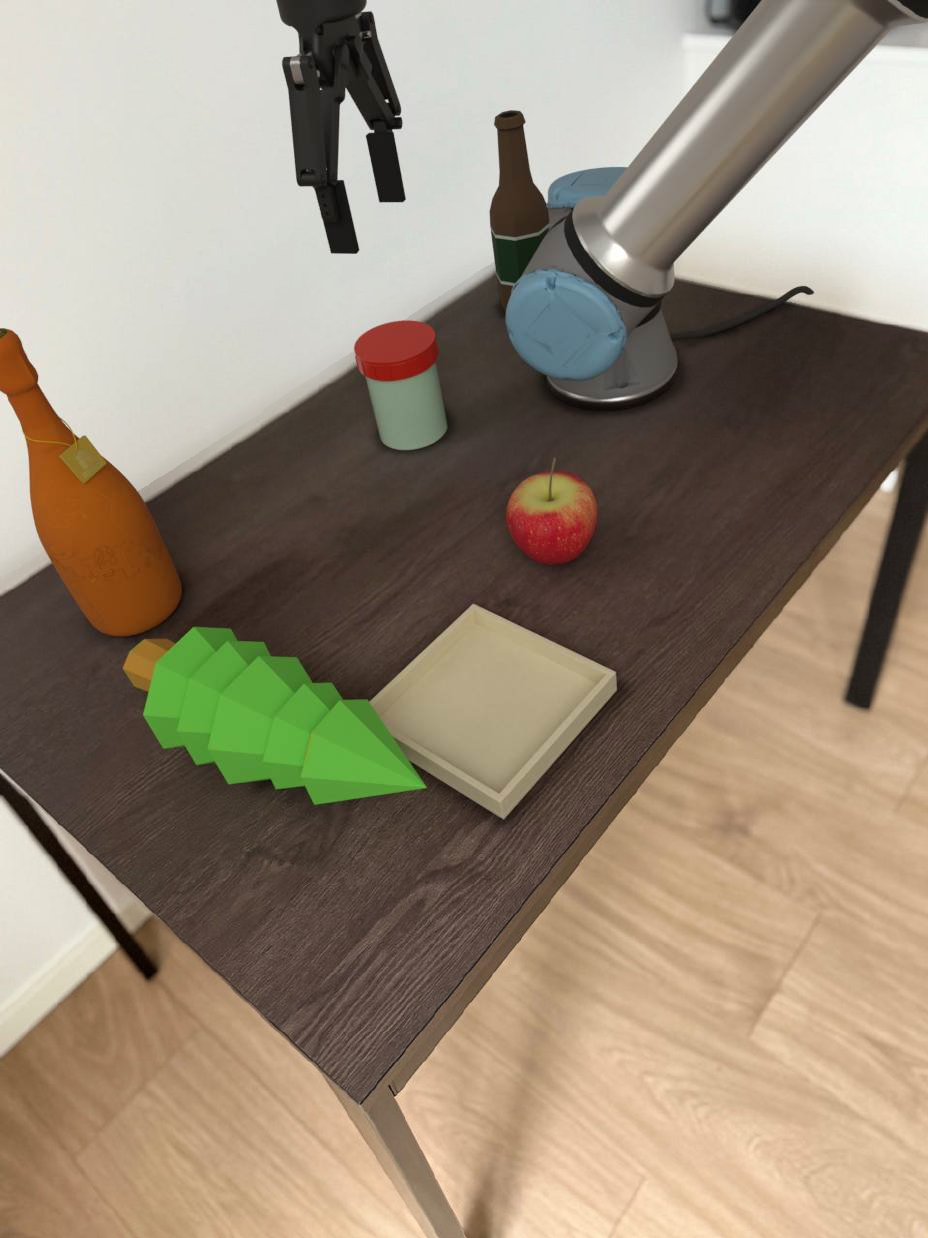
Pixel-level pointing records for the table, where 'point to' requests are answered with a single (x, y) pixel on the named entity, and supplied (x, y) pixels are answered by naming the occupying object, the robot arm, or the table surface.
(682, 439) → the table surface
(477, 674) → the tray
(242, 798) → the table surface
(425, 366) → the lid
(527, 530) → the apple
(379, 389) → the jar
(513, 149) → the beer bottle
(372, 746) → the decorative tree
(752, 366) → the table surface
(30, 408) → the wine bottle
